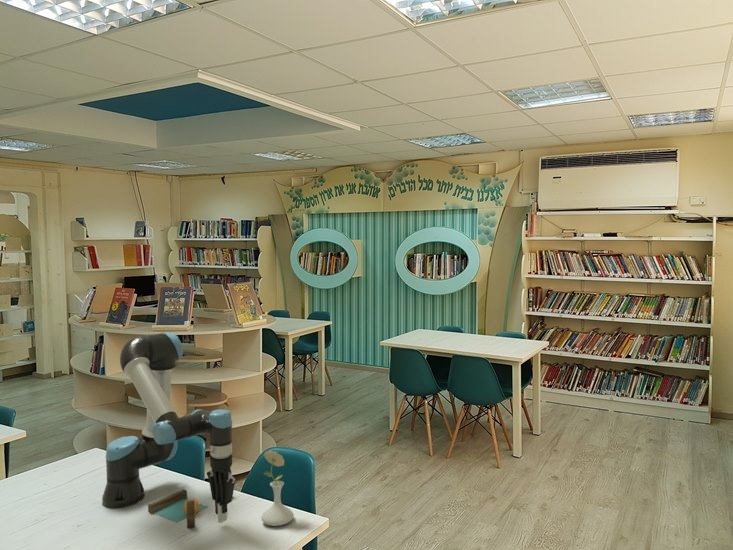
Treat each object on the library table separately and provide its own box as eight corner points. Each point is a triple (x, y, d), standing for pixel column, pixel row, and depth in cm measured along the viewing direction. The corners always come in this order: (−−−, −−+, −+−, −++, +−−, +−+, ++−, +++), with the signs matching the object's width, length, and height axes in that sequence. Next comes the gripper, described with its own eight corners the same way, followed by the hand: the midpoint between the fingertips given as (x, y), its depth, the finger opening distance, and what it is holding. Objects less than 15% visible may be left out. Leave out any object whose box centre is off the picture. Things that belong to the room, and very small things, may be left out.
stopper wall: (148, 512, 205) (148, 504, 205) (183, 496, 218) (183, 489, 218) (151, 514, 204) (151, 506, 204) (187, 497, 217) (187, 490, 217)
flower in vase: (300, 521, 198) (299, 452, 197) (274, 532, 190) (272, 461, 189) (278, 509, 207) (277, 443, 206) (252, 519, 199) (251, 451, 198)
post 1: (185, 527, 194) (185, 502, 193) (191, 524, 196) (191, 499, 196) (190, 529, 192) (189, 504, 192) (196, 526, 195) (196, 501, 194)
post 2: (213, 513, 204) (213, 489, 204) (219, 510, 206) (218, 486, 206) (218, 514, 203) (218, 490, 202) (224, 512, 205) (223, 488, 205)
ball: (184, 520, 201) (178, 506, 203) (197, 513, 206) (190, 500, 208) (192, 513, 199) (185, 499, 201) (204, 507, 204) (198, 494, 205)
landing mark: (152, 512, 205) (152, 511, 205) (183, 498, 217) (183, 497, 217) (176, 522, 197) (176, 521, 197) (207, 507, 209) (207, 506, 209)
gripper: (200, 454, 194) (201, 520, 195) (225, 462, 187) (226, 530, 188) (216, 448, 200) (218, 512, 201) (242, 455, 193) (243, 521, 194)
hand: (222, 520), depth 194 cm, fingers closed
